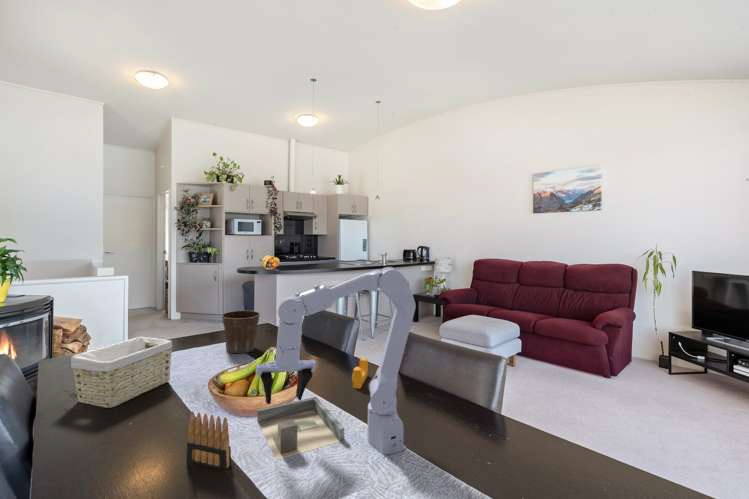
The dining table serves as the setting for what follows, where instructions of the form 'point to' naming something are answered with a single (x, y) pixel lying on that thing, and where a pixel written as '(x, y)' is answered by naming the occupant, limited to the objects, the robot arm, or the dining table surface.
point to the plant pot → (240, 330)
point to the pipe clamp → (360, 373)
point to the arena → (301, 425)
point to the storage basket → (121, 370)
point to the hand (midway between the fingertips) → (283, 400)
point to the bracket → (286, 437)
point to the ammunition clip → (208, 442)
